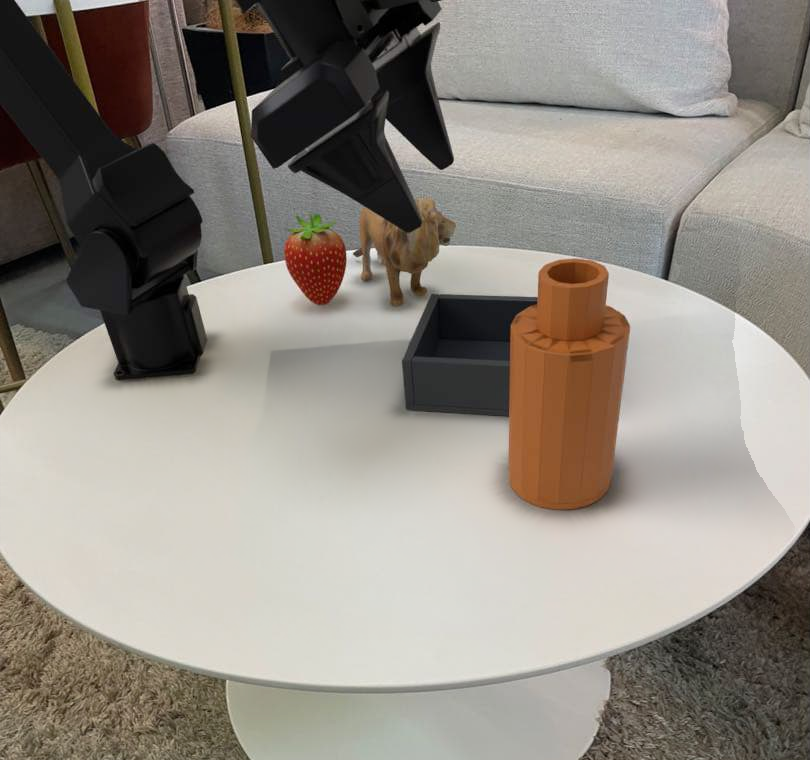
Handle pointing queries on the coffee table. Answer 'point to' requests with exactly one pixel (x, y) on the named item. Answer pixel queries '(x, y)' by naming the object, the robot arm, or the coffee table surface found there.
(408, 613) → the coffee table surface
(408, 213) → the robot arm
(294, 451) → the coffee table surface
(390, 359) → the coffee table surface
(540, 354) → the bottle
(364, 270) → the lion figurine
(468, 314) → the box
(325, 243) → the fruit
